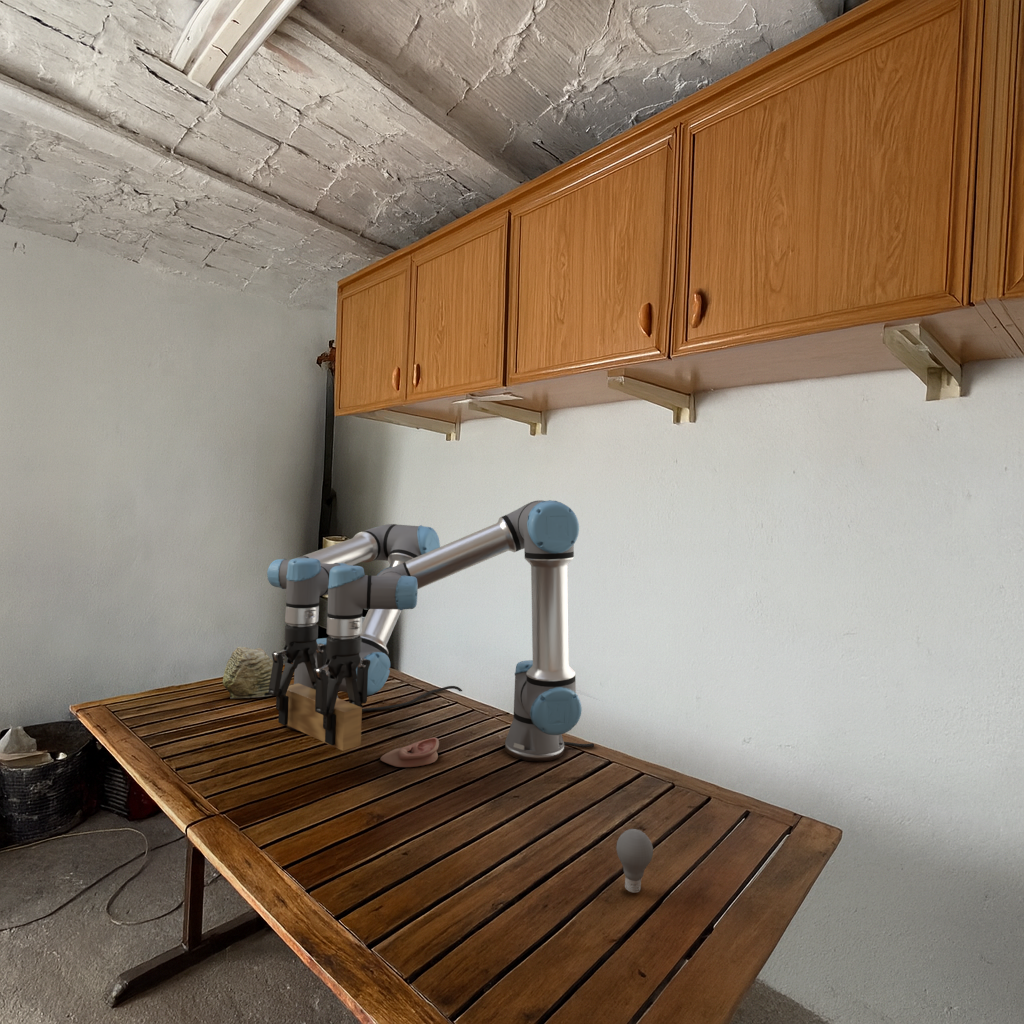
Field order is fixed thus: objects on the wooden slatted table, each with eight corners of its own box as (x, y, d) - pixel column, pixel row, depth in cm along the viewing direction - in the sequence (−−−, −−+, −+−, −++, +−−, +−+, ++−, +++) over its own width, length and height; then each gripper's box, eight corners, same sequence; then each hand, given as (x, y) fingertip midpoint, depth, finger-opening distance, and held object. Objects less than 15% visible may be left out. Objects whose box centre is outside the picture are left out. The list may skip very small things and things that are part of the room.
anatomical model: (375, 747, 151) (394, 730, 162) (374, 764, 151) (393, 746, 162) (428, 754, 148) (443, 736, 159) (427, 771, 148) (443, 752, 159)
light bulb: (610, 879, 108) (613, 822, 108) (644, 879, 109) (647, 822, 109) (619, 902, 102) (622, 840, 102) (655, 901, 103) (658, 840, 103)
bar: (279, 721, 152) (281, 687, 152) (297, 717, 156) (298, 683, 155) (342, 751, 136) (344, 712, 136) (360, 745, 140) (362, 707, 140)
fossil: (218, 695, 195) (220, 647, 195) (278, 685, 208) (279, 640, 207) (228, 703, 189) (230, 653, 188) (289, 692, 201) (290, 645, 201)
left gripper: (271, 632, 140) (267, 734, 141) (346, 620, 156) (343, 713, 157) (253, 626, 145) (249, 725, 145) (328, 616, 161) (325, 705, 161)
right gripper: (319, 644, 131) (315, 756, 131) (386, 632, 145) (382, 733, 145) (299, 638, 136) (295, 746, 136) (365, 627, 150) (362, 725, 150)
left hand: (298, 719), depth 151 cm, fingers open, 7 cm apart
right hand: (340, 739), depth 141 cm, fingers closed on bar, 5 cm apart
